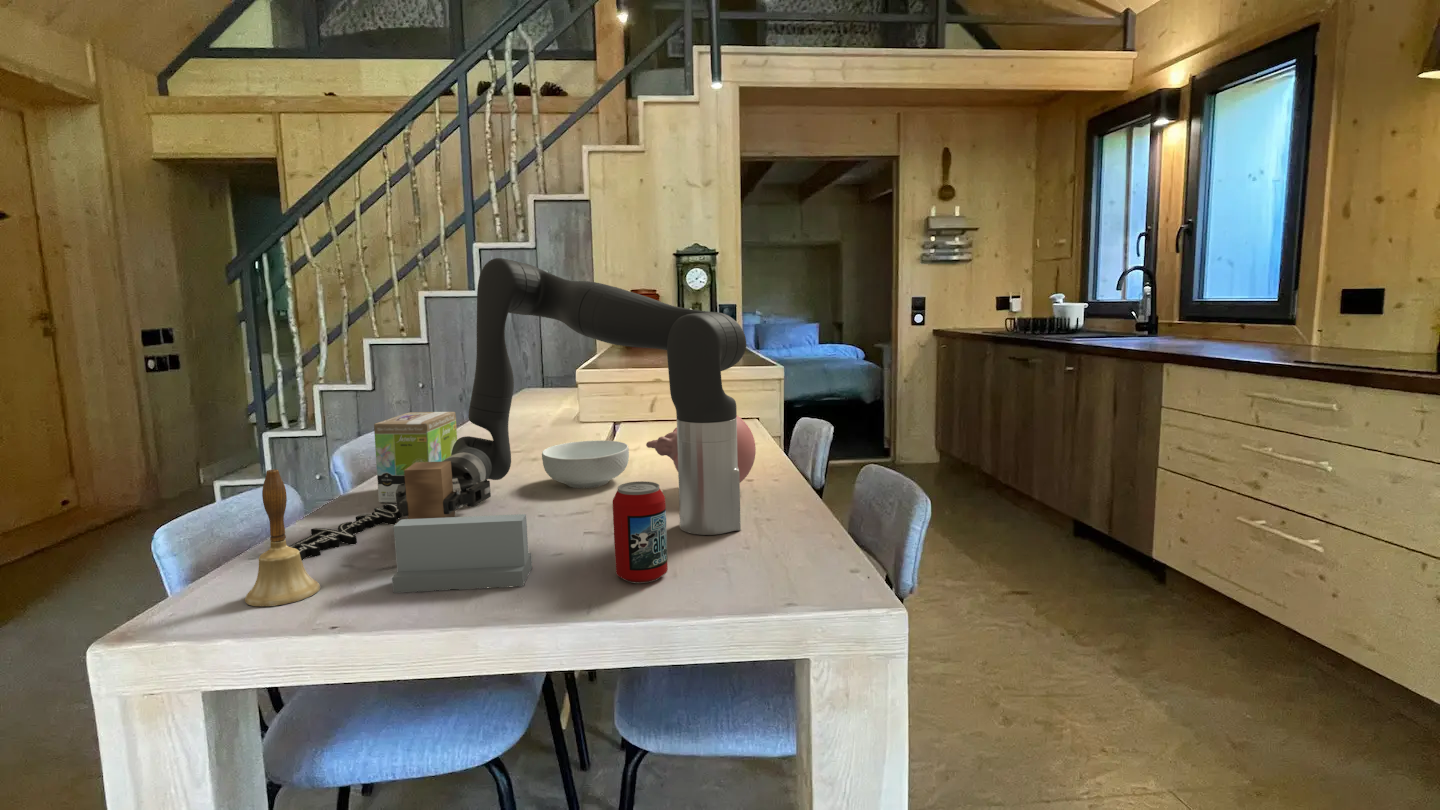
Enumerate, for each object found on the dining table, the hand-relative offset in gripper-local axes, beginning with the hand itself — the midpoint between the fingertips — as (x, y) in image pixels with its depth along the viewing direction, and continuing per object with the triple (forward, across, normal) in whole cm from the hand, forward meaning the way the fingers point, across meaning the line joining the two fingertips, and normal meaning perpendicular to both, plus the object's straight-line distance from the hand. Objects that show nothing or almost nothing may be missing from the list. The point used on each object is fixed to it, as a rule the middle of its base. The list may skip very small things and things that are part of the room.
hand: (425, 508), depth 107 cm
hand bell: (+10, -15, +8) cm, 20 cm away
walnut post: (-3, 0, +8) cm, 8 cm away
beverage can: (+10, +30, +8) cm, 33 cm away
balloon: (-32, +40, +8) cm, 52 cm away
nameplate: (-15, -17, +8) cm, 24 cm away
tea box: (-40, -13, +8) cm, 42 cm away
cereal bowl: (-42, +18, +8) cm, 46 cm away
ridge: (+8, +7, +8) cm, 13 cm away
